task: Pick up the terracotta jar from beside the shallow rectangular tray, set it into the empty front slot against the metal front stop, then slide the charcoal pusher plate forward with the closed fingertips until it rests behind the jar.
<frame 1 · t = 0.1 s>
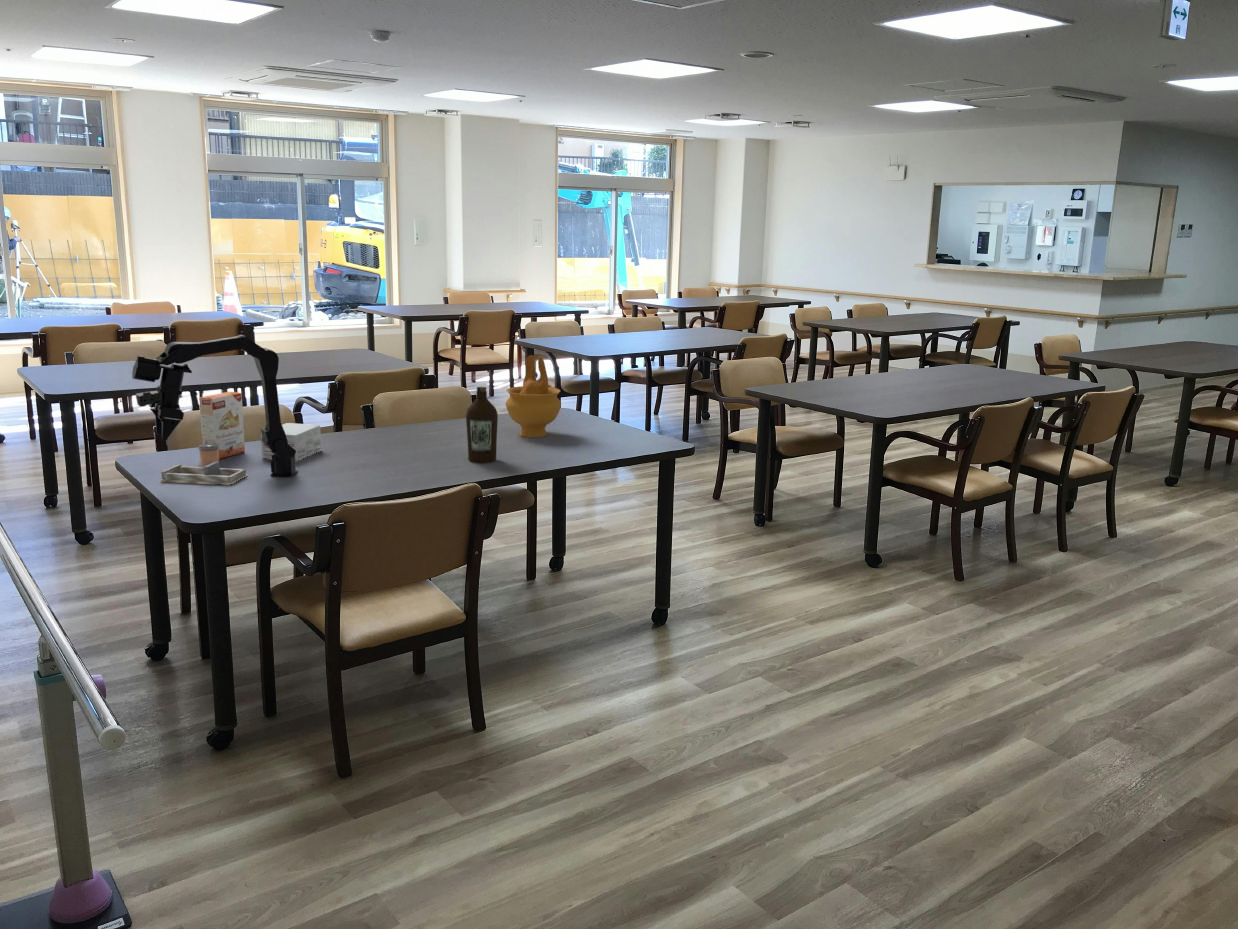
hand: (161, 437, 287), 15 cm above the table, tool pointing down, fingers open, 9 cm apart
supplement box: (292, 455, 335), on the table
cracker box: (225, 456, 332), on the table
pusher plate: (212, 470, 301), point 3 cm above the table, slide at 0.0 cm
decorative bowl: (533, 434, 376), on the table
olive oil: (482, 460, 334), on the table
jar: (210, 469, 313), on the table
shallow rectangular tray: (204, 478, 302), on the table
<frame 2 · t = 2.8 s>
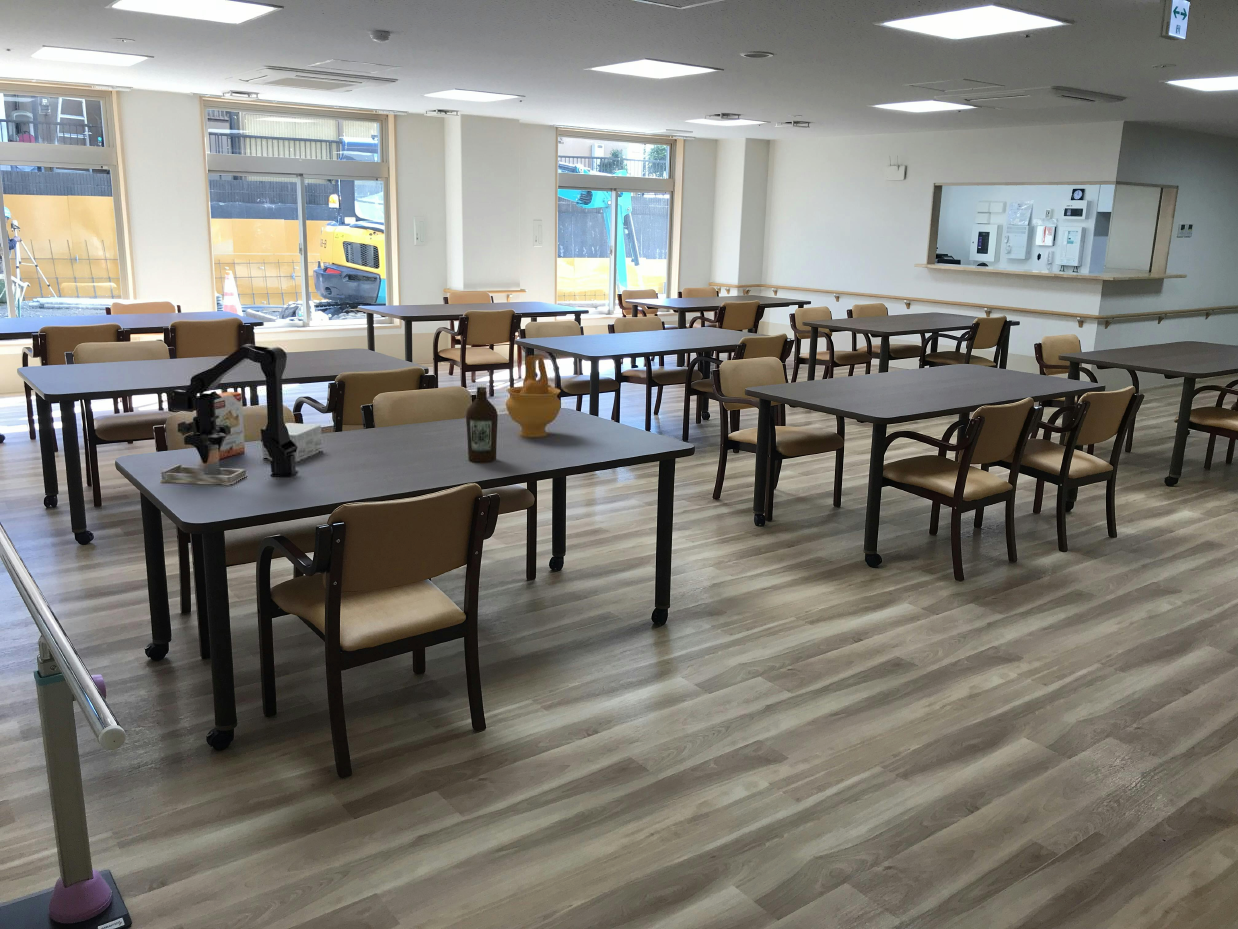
hand: (209, 461, 312), 3 cm above the table, tool pointing down, fingers closed on jar, 5 cm apart
jar: (210, 469, 313), on the table, touching gripper
everything else where it was.
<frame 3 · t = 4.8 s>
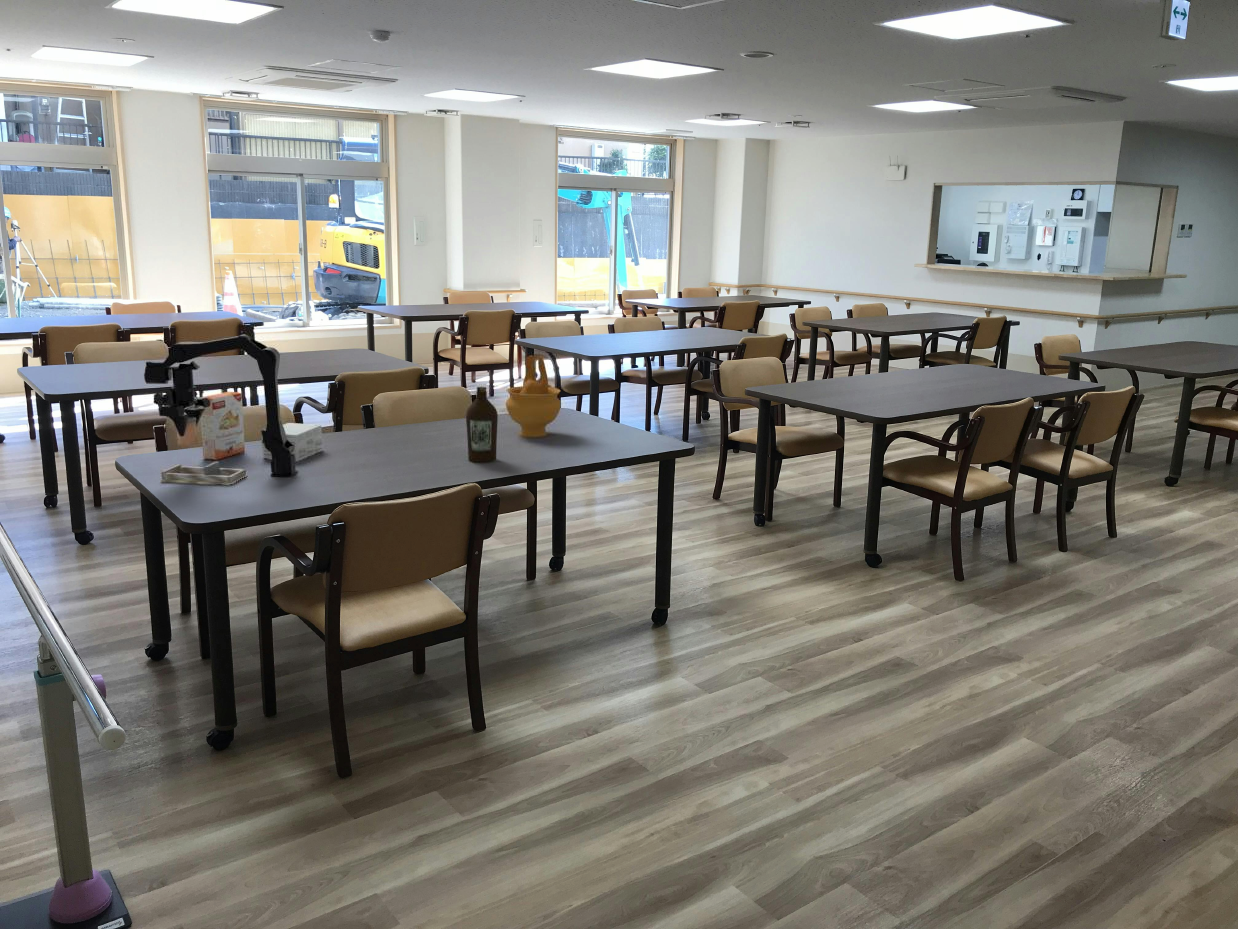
hand: (187, 434, 302), 13 cm above the table, tool pointing down, fingers closed on jar, 5 cm apart
jar: (187, 443, 302), point 10 cm above the table, touching gripper
everything else where it was.
when the fingers open (5 cm above the table, at t = 6.9 s): jar drops 1 cm, resting on shallow rectangular tray.
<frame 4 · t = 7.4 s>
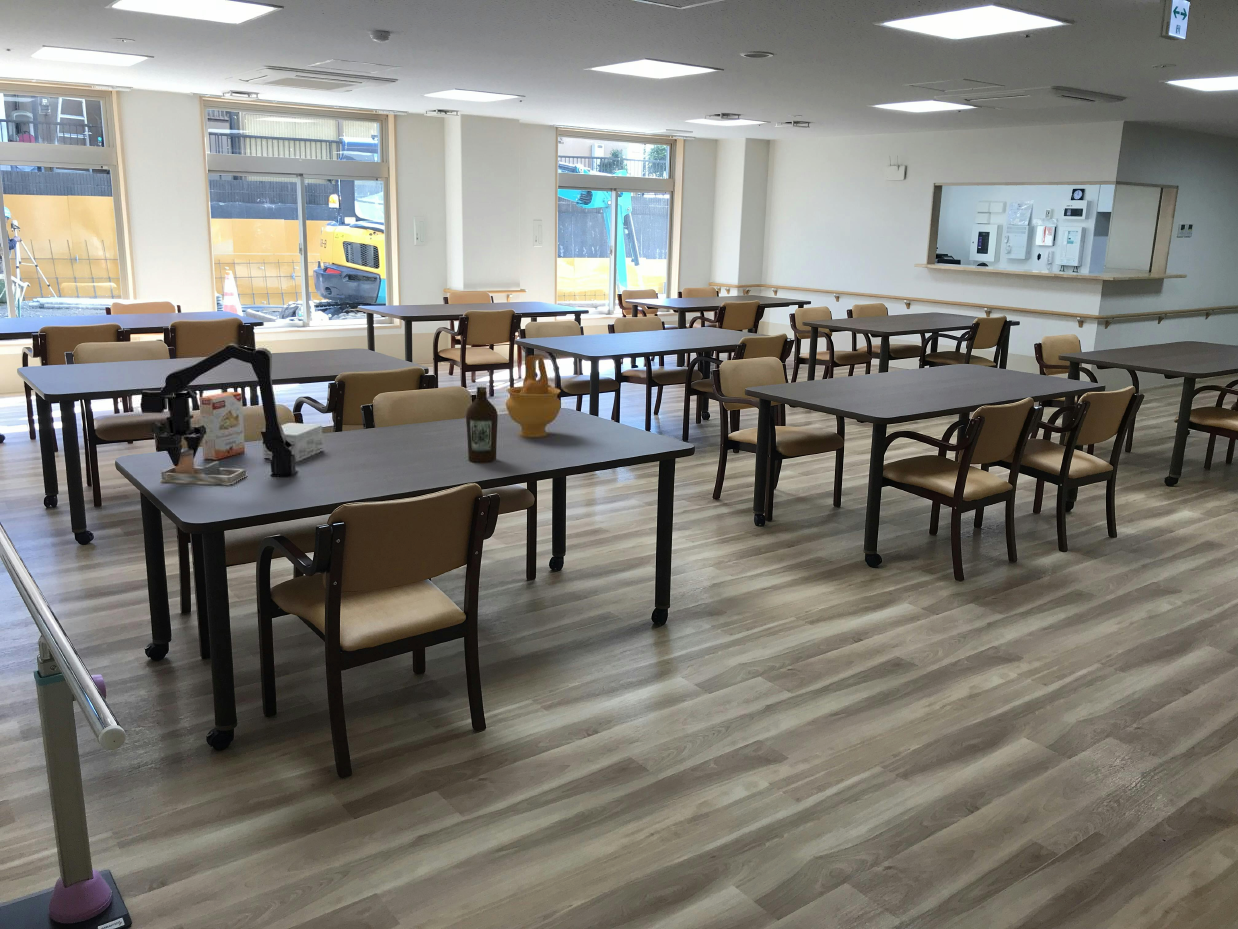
hand: (184, 462, 301), 5 cm above the table, tool pointing down, fingers open, 9 cm apart
jar: (185, 476, 302), point 1 cm above the table, touching shallow rectangular tray
everything else where it was.
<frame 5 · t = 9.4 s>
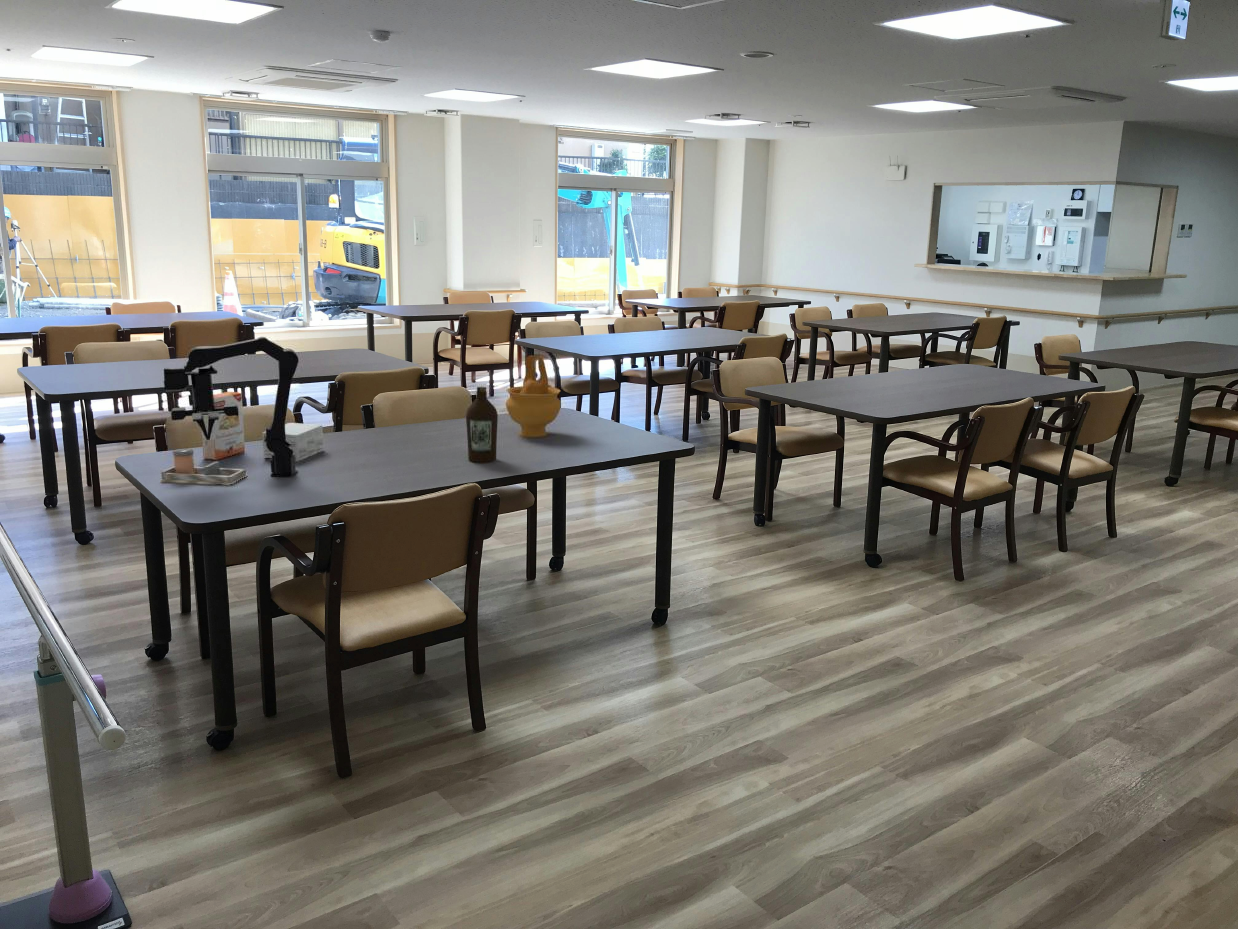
hand: (208, 439, 299), 12 cm above the table, tool pointing down, fingers closed
nothing on the table moved.
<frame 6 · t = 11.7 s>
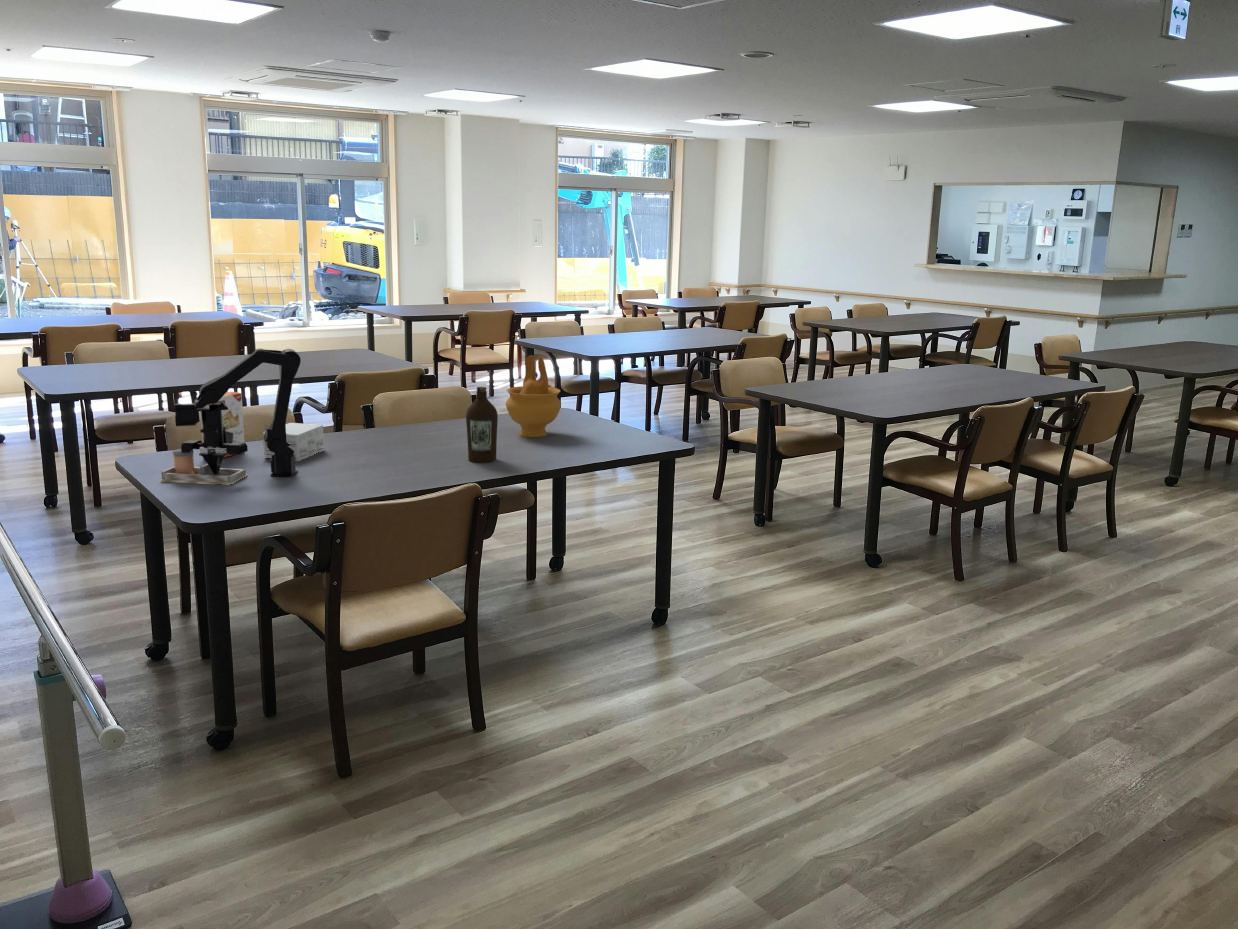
hand: (216, 474, 301), 2 cm above the table, tool pointing down, fingers closed
pusher plate: (208, 470, 301), point 3 cm above the table, slide at 1.2 cm, touching gripper
everything else where it was.
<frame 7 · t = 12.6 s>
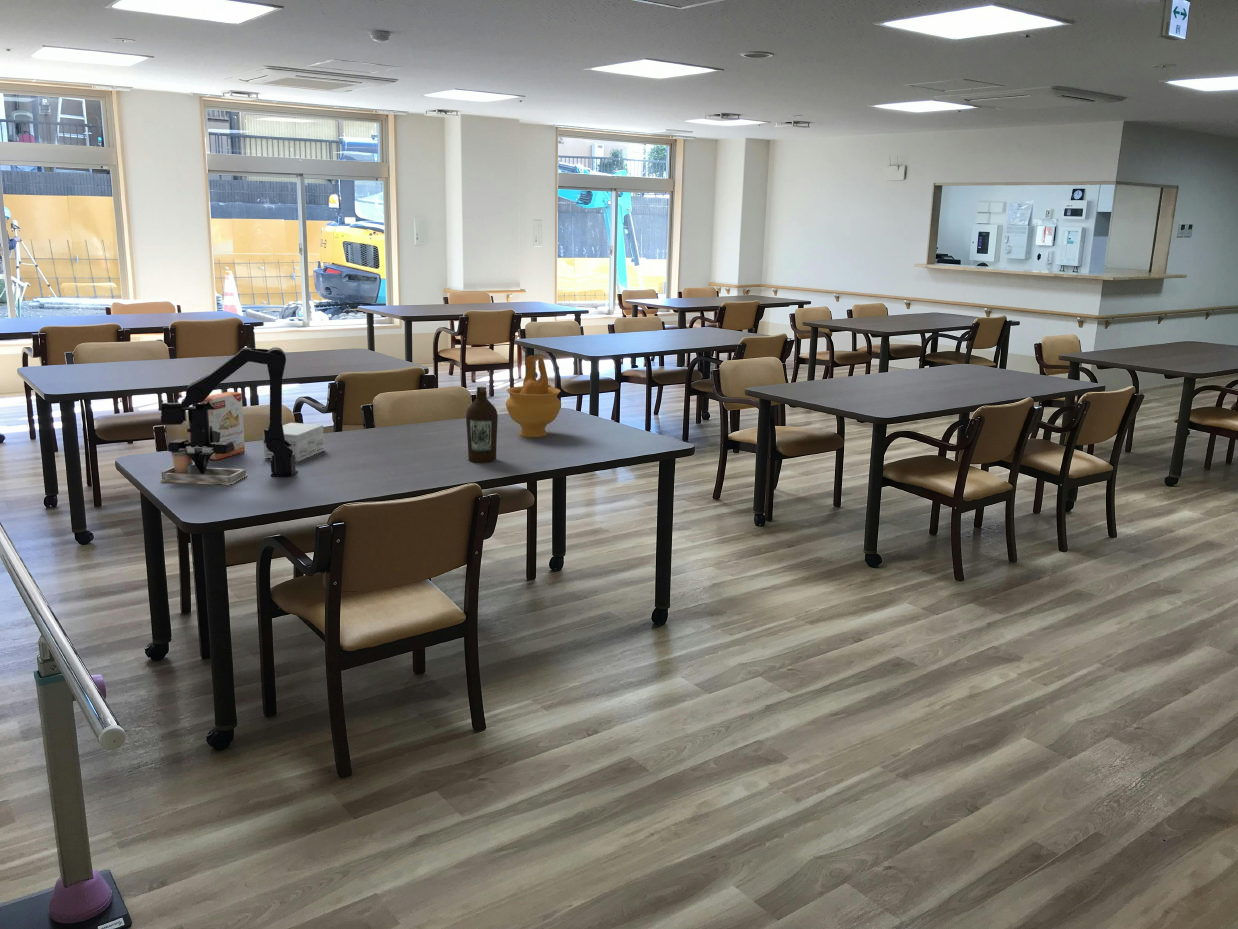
hand: (203, 473, 301), 2 cm above the table, tool pointing down, fingers closed
pusher plate: (195, 469, 301), point 3 cm above the table, slide at 5.4 cm, touching gripper
jar: (185, 475, 302), point 1 cm above the table, touching gripper, shallow rectangular tray
everything else where it was.
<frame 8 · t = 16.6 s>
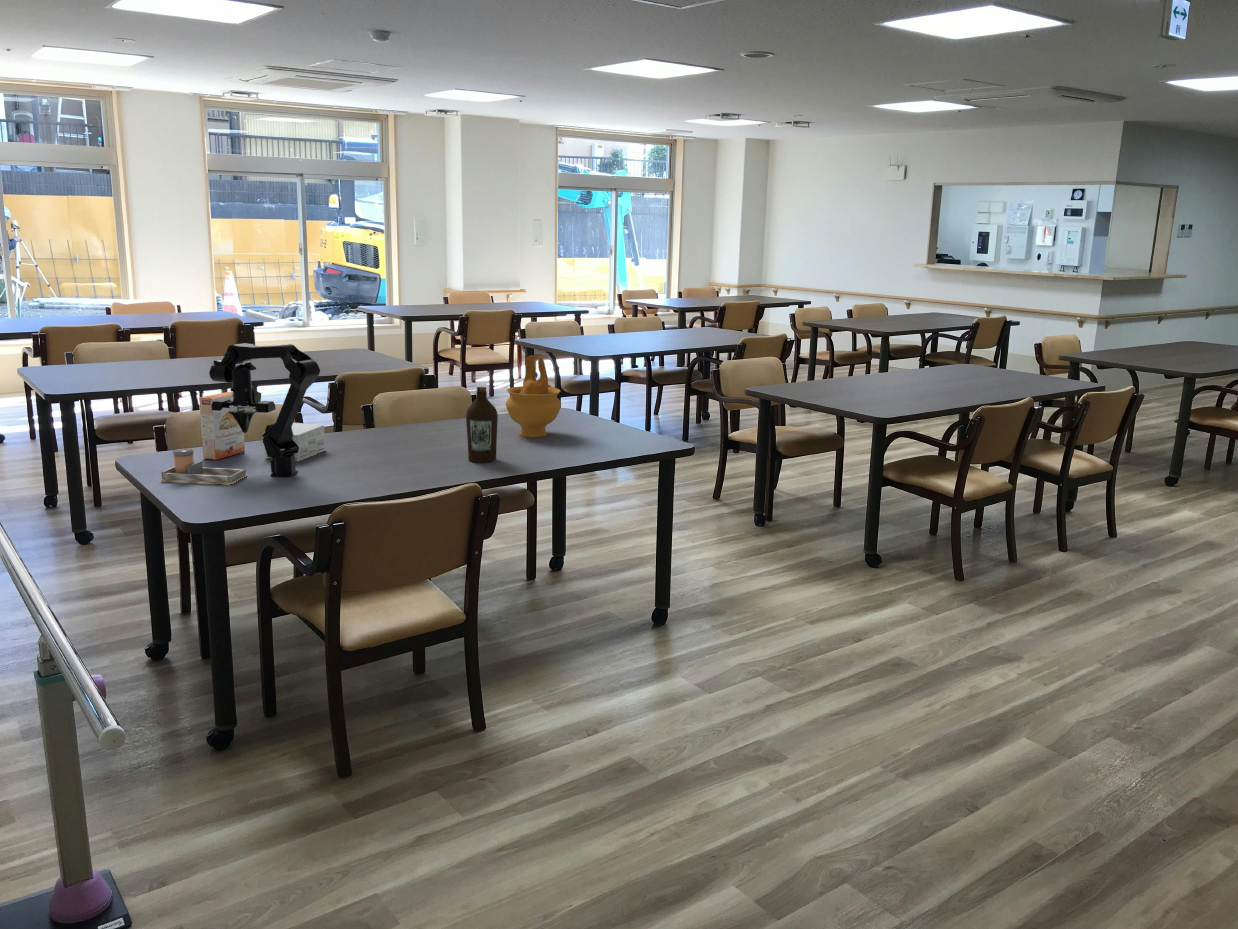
hand: (245, 432, 312), 12 cm above the table, tool pointing down, fingers closed
pusher plate: (195, 469, 301), point 3 cm above the table, slide at 5.5 cm
jar: (185, 476, 302), point 1 cm above the table, touching shallow rectangular tray
at the end: jar 0.2 cm from the target spot on the shallow rectangular tray, point 0.6 cm above the shallow rectangular tray's base; jar tilted 0°; pusher plate slide at 5.5 cm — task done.
